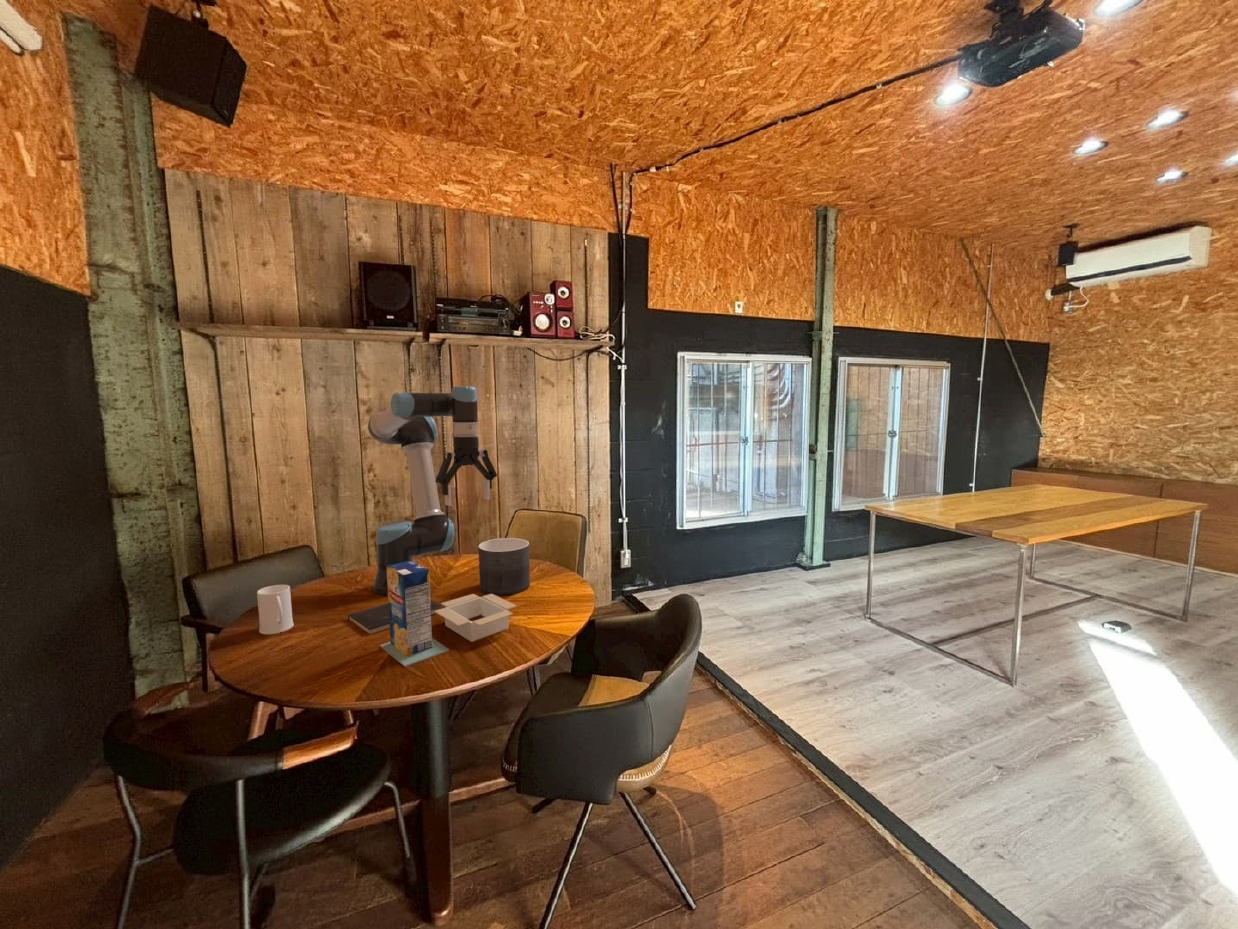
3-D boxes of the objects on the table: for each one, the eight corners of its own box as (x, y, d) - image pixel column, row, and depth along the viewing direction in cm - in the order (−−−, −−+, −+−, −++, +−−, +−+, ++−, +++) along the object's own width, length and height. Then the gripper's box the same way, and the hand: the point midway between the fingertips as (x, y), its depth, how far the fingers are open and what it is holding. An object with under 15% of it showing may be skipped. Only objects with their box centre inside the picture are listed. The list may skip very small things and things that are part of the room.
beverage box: (407, 656, 134) (403, 575, 132) (390, 643, 142) (386, 565, 139) (432, 647, 139) (429, 569, 137) (414, 635, 147) (411, 560, 144)
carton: (428, 625, 154) (427, 607, 153) (485, 607, 168) (484, 590, 167) (466, 650, 139) (465, 629, 138) (525, 628, 152) (525, 609, 152)
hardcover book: (443, 613, 165) (443, 606, 165) (369, 636, 148) (369, 629, 148) (419, 600, 176) (419, 593, 175) (348, 621, 159) (347, 614, 158)
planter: (540, 584, 190) (539, 542, 188) (505, 599, 175) (504, 554, 173) (505, 575, 199) (504, 535, 197) (469, 589, 184) (467, 546, 182)
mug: (297, 633, 149) (294, 593, 148) (261, 641, 144) (258, 600, 142) (291, 619, 158) (288, 582, 157) (258, 627, 153) (254, 588, 152)
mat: (379, 646, 141) (379, 645, 141) (422, 632, 150) (422, 631, 149) (404, 667, 130) (404, 665, 130) (449, 650, 138) (449, 649, 138)
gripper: (433, 438, 150) (436, 509, 153) (506, 434, 168) (508, 498, 171) (422, 437, 156) (425, 506, 158) (493, 433, 173) (495, 495, 176)
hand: (468, 502), depth 164 cm, fingers open, 13 cm apart
